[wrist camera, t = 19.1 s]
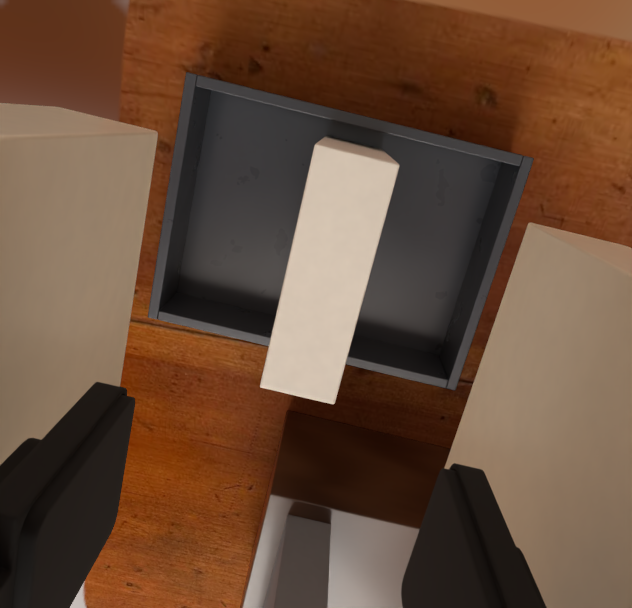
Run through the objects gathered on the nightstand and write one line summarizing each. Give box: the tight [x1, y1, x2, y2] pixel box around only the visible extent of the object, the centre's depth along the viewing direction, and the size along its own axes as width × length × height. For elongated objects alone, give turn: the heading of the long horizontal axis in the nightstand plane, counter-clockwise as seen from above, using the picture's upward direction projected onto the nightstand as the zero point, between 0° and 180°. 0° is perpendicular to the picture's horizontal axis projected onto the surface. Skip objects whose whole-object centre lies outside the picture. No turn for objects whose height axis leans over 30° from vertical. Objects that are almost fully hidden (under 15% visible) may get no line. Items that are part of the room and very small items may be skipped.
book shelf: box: [240, 411, 451, 608], centre depth 40 cm, size 20×13×10 cm, turn 77°
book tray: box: [148, 72, 534, 390], centre depth 36 cm, size 19×14×5 cm
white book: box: [260, 135, 399, 404], centre depth 31 cm, size 4×11×13 cm, turn 167°
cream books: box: [0, 103, 632, 608], centre depth 13 cm, size 17×11×12 cm, turn 77°
